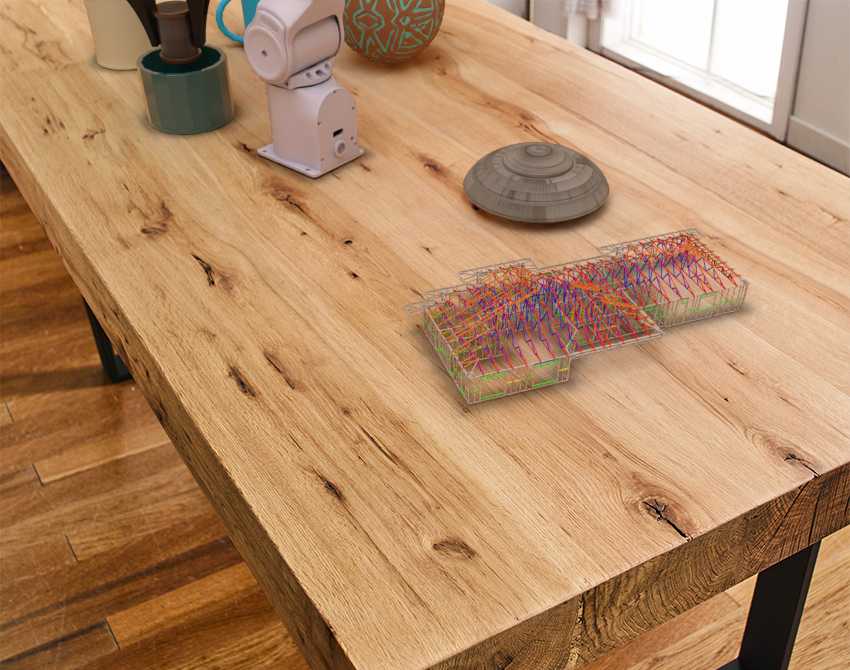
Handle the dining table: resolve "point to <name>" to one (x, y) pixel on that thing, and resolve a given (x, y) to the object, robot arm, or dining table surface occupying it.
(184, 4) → the spool
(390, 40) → the decorative sphere
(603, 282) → the roof frame
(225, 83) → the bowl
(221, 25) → the mug
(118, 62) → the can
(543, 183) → the flying saucer
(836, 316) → the dining table surface
